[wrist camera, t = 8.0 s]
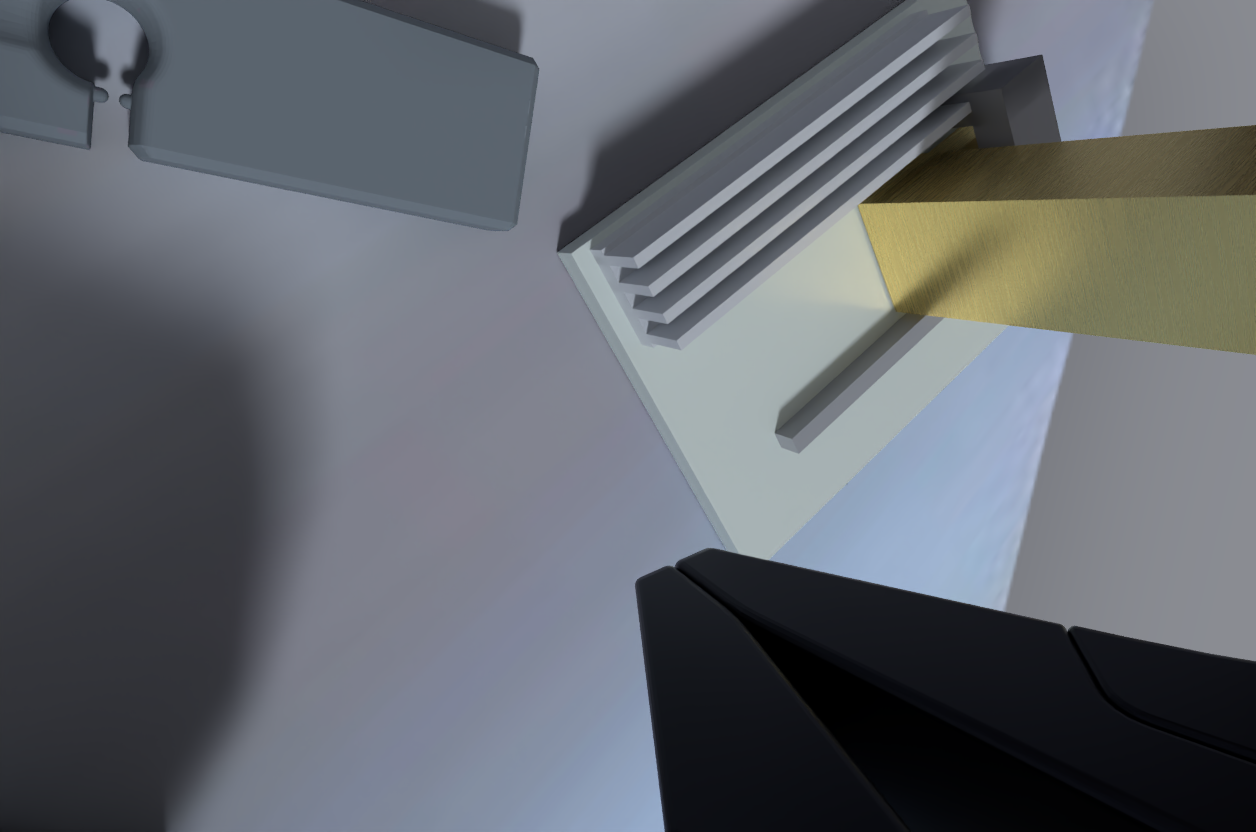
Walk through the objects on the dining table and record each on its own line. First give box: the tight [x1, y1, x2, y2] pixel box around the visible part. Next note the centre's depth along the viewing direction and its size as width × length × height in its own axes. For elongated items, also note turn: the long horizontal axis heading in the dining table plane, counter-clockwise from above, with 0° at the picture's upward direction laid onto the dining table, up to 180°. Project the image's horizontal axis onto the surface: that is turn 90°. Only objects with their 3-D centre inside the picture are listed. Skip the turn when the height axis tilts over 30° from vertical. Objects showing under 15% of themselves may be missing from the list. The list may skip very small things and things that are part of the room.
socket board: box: [557, 0, 1061, 560], centre depth 25 cm, size 16×12×4 cm
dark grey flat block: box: [0, 0, 539, 231], centre depth 17 cm, size 4×10×2 cm, turn 79°
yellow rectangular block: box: [858, 125, 1256, 355], centre depth 22 cm, size 6×4×11 cm, turn 121°
